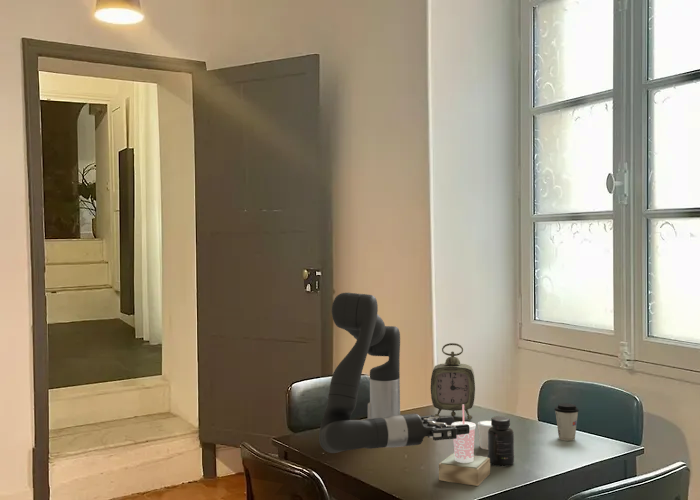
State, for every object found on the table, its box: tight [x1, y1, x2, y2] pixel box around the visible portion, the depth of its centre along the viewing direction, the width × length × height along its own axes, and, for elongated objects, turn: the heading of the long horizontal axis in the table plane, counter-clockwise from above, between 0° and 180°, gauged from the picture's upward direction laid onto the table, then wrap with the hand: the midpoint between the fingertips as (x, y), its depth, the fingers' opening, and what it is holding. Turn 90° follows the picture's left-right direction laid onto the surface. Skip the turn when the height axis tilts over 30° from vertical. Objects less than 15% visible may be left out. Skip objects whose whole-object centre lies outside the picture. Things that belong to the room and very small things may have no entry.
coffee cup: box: [553, 402, 580, 442], centre depth 216 cm, size 7×7×10 cm
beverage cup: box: [451, 404, 477, 463], centre depth 182 cm, size 6×6×14 cm
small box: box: [438, 452, 491, 487], centre depth 182 cm, size 10×10×4 cm
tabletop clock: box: [430, 342, 476, 421], centre depth 242 cm, size 14×9×25 cm, turn 81°
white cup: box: [477, 419, 492, 451], centre depth 208 cm, size 7×7×7 cm
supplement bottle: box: [487, 415, 515, 467], centre depth 193 cm, size 7×7×12 cm
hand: (461, 424), depth 182 cm, fingers open, 8 cm apart
